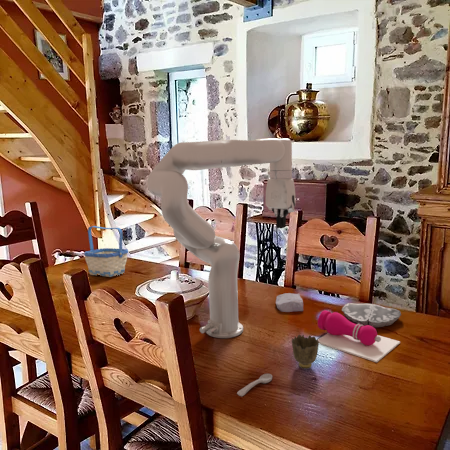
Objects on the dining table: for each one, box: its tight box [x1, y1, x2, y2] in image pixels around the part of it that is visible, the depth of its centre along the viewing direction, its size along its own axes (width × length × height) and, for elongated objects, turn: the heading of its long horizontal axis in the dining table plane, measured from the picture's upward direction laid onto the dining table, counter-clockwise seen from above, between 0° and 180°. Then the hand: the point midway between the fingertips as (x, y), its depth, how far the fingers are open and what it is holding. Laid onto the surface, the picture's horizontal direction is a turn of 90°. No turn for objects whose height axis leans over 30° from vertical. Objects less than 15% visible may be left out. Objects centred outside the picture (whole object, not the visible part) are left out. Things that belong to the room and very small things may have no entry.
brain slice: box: [341, 302, 402, 328], centre depth 157 cm, size 20×17×3 cm
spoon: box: [236, 373, 273, 397], centre depth 118 cm, size 3×12×2 cm, turn 132°
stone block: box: [275, 292, 304, 313], centre depth 172 cm, size 12×5×10 cm
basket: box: [83, 225, 129, 278], centre depth 218 cm, size 21×16×24 cm
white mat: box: [317, 332, 401, 363], centre depth 140 cm, size 16×20×1 cm
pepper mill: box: [317, 309, 381, 345], centre depth 141 cm, size 7×7×20 cm
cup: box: [291, 334, 320, 370], centre depth 126 cm, size 8×7×8 cm
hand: (281, 227), depth 159 cm, fingers closed
